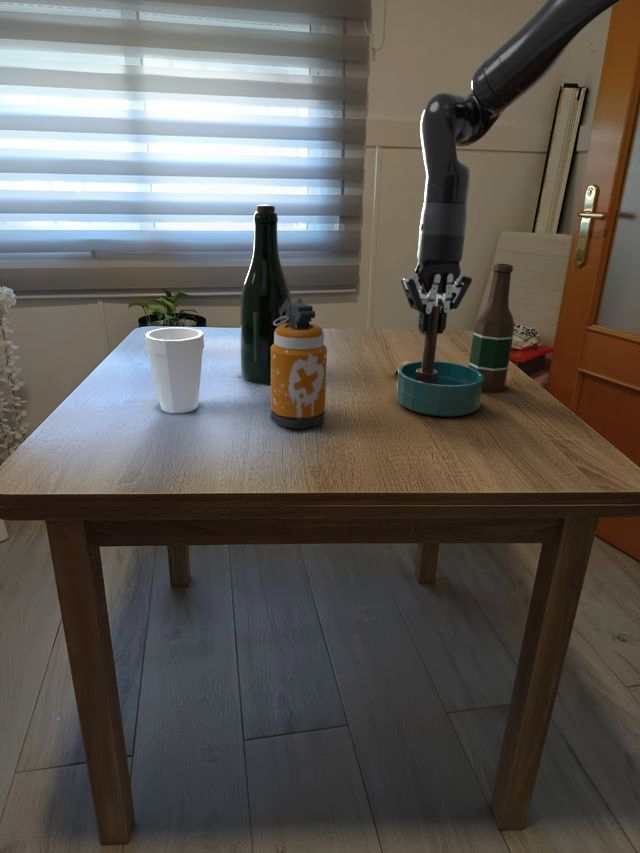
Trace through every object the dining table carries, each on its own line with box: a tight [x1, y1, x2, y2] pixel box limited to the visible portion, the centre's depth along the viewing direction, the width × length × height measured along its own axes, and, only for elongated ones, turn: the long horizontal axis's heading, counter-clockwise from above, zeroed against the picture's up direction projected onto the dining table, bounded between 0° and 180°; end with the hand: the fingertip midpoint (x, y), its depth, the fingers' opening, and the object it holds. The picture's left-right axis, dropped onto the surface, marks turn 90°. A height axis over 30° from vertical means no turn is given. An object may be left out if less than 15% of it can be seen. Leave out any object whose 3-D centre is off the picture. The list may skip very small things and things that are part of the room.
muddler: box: [415, 303, 440, 384], centre depth 104 cm, size 4×4×16 cm
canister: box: [270, 297, 328, 429], centre depth 93 cm, size 9×11×20 cm
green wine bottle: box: [240, 204, 292, 384], centre depth 111 cm, size 10×10×33 cm
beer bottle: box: [468, 263, 515, 393], centre depth 112 cm, size 8×8×24 cm
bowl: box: [395, 360, 484, 418], centre depth 105 cm, size 15×15×6 cm
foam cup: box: [144, 327, 205, 414], centre depth 98 cm, size 10×9×13 cm
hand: (431, 332), depth 103 cm, fingers closed on muddler, 2 cm apart
